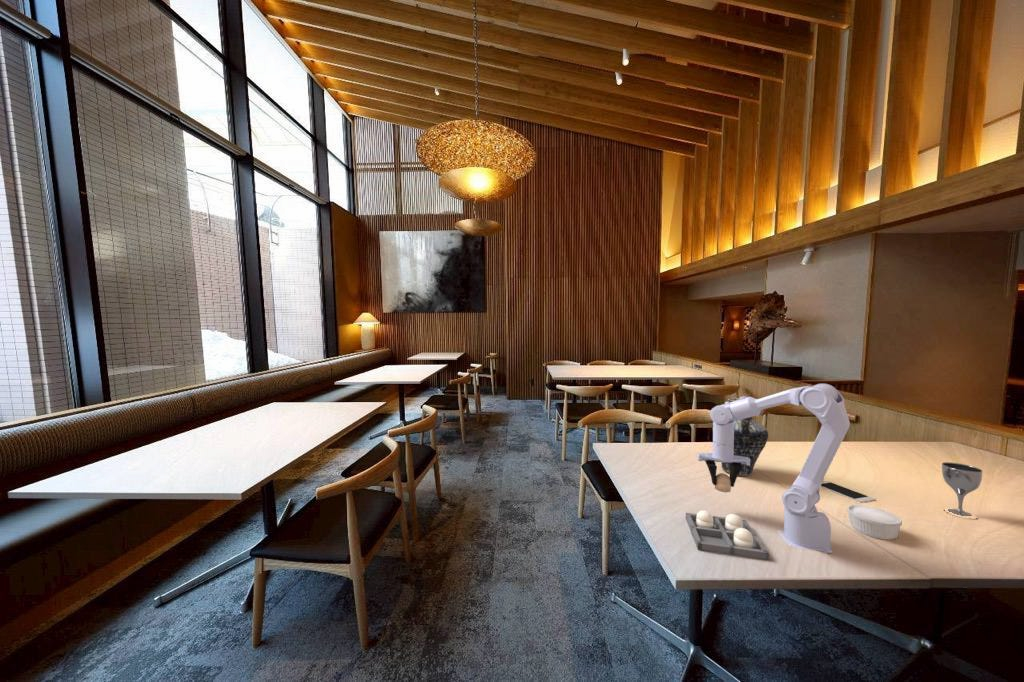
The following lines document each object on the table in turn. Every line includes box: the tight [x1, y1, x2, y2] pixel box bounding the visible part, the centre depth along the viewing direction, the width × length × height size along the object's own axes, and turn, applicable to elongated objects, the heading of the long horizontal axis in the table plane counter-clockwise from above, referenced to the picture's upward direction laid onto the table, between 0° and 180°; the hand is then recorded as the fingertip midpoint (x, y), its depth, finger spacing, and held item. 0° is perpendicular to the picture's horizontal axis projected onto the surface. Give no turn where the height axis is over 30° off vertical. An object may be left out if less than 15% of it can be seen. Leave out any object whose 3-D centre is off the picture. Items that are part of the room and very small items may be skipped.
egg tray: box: [685, 512, 770, 561], centre depth 100 cm, size 16×16×2 cm
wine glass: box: [941, 461, 983, 516], centre depth 113 cm, size 8×8×15 cm
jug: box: [711, 397, 769, 477], centre depth 146 cm, size 21×19×30 cm
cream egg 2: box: [725, 513, 743, 531], centre depth 103 cm, size 4×4×5 cm
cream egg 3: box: [734, 528, 753, 549], centre depth 95 cm, size 4×4×5 cm
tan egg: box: [714, 472, 732, 493], centre depth 114 cm, size 4×4×5 cm
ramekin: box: [846, 504, 903, 541], centre depth 104 cm, size 11×11×5 cm
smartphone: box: [820, 480, 877, 504], centre depth 129 cm, size 7×15×1 cm, turn 14°
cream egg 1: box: [696, 509, 713, 529], centre depth 105 cm, size 4×4×5 cm
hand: (722, 484), depth 114 cm, fingers closed on tan egg, 4 cm apart
